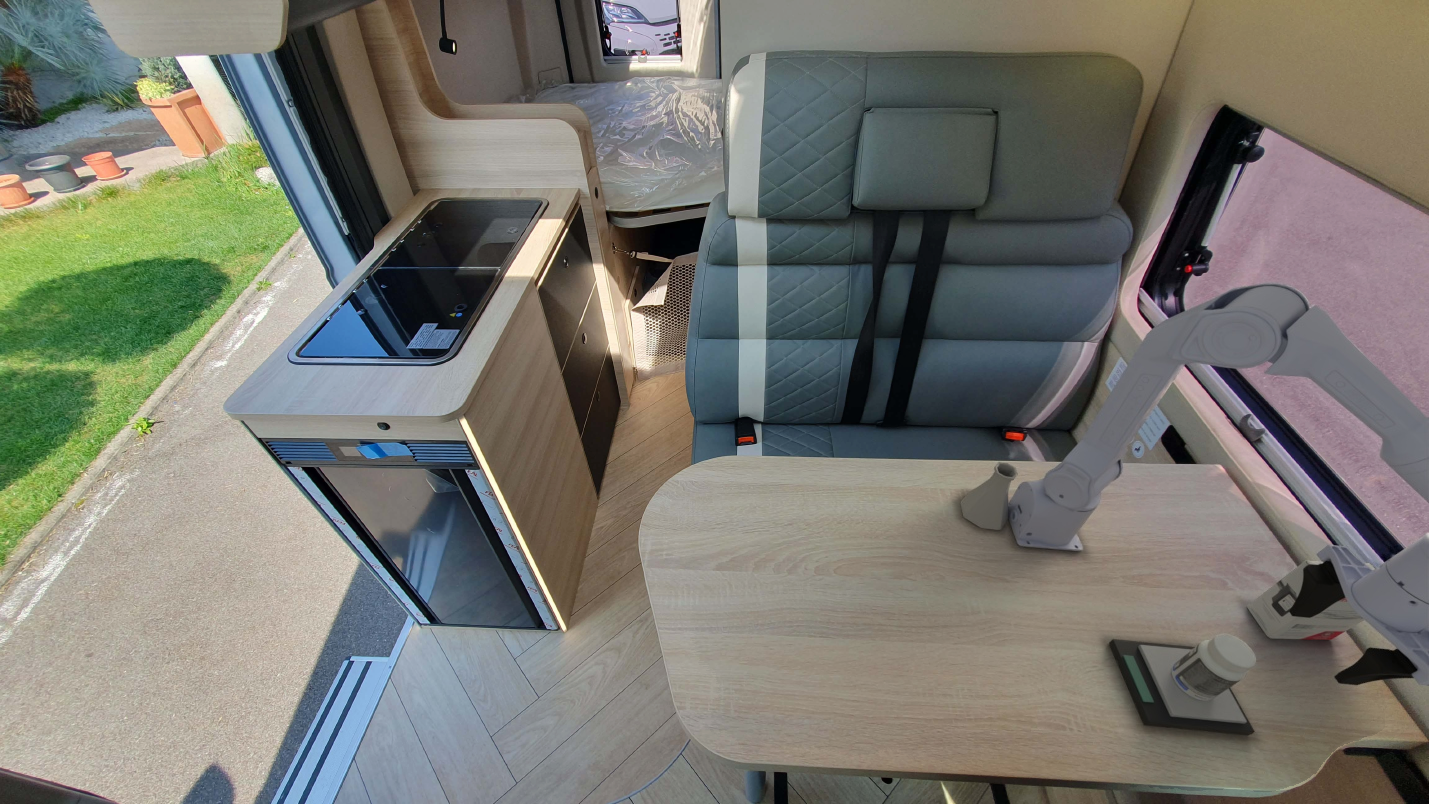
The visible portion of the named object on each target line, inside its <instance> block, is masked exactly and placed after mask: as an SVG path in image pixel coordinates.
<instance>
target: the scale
mask: <svg viewBox="0 0 1429 804" xmlns="http://www.w3.org/2000/svg"><path fill="white" fill-rule="evenodd" d="M1108 644H1109V647H1110V649H1111V652H1112V654H1113V656H1114V659H1115V661H1116V663H1117V665H1118V669H1119V671H1120V673H1121V675H1122V677H1123V679H1124V682H1125V685H1126V687H1127V689H1128V691H1129V694H1130V696H1131V698H1132V701H1133V703H1134V705H1135V708H1136V710H1137V712H1138V714H1139V717H1140V719H1141V721H1142V724H1143V726H1148V727H1149V726H1150V727H1161V728H1162V727H1163V728H1171V729H1181V730H1190V731H1201V732H1212V733H1221V734H1231V735H1241V736H1251V735H1252V734H1254V733H1256V731H1255V730H1254V727H1253V726H1252V724H1251V722H1250V720H1249V718H1248V717H1247V715H1246V714H1245V713H1246V712H1245V711H1244V710H1243V708H1242V706H1241V704H1240V703H1239V701H1238V699H1237V697H1236V695H1235V694H1234V692H1233V690H1232V687H1230V688H1229V689H1227V690H1225V691H1224V692H1222V693H1221V694H1219V695H1218V696H1216V697H1215V698H1213V699H1211V700H1208V701H1204V700H1198V699H1195V698H1193V697H1191V696H1189V695H1188V694H1186V693H1185V692H1184V691H1183V690H1181V689H1180V688H1179V686H1178V685H1177V684H1176V682H1175V680H1174V679H1173V676H1172V666H1173V665H1174V664H1175V663H1176V662H1177V661H1178V660H1179V659H1181V658H1182V657H1183V656H1185V655H1186V654H1187V653H1188V652H1190V651H1191V650H1192V649H1193V648H1195V647H1196V646H1194V645H1193V646H1192V645H1183V644H1172V643H1160V642H1150V641H1149V642H1148V641H1139V640H1129V639H1117V638H1112V639H1111V640H1110V641H1109V642H1108Z"/></svg>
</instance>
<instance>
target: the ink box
mask: <svg viewBox="0 0 1429 804" xmlns="http://www.w3.org/2000/svg"><path fill="white" fill-rule="evenodd" d="M1320 563H1324V562H1322V561H1321V560H1304V561H1303V562H1302V563H1300V564H1299V565H1297V567H1295V568H1294V569H1293V570H1291V571H1290V572H1289V573H1287V574H1286V575H1285V576H1284V577H1282V578H1281V579H1280V580H1278V581H1277V582H1276V583H1274V584H1273V585H1272V586H1270V587H1269V588H1268V589H1266V591H1264V592H1263V593H1262V594H1261V595H1259V596H1257V598H1255V599H1254V600H1253V601H1251V602H1250V603H1249V604H1247V606H1246V607H1247V609H1248V611H1249V613H1250V614H1251V616H1252V617H1253V618H1254V620H1255V621H1256V623H1257V624H1258V626H1259V627H1260V628H1261V629H1262V632H1264V634H1265V635H1266V637H1267V638H1269V639H1274V640H1275V639H1276V640H1313V641H1314V640H1317V641H1320V640H1323V641H1328V640H1329V641H1332V640H1334V639H1335V638H1337V637H1338V636H1340V635H1342V634H1343V633H1346V632H1347V631H1350V630H1351V629H1352V628H1354V627H1355V626H1357V625H1359V624H1360V623H1362V622H1364V621H1365V620H1364V619H1363V618H1362V617H1361V616H1360V615H1359V614H1357V613H1356V612H1355V610H1354V609H1353V608H1352V607H1351V606H1350V605H1349V603H1348V601H1347V599H1346V598H1344V599H1342V600H1340V601H1338V602H1336V603H1334V604H1333V605H1331V606H1330V607H1328V608H1327V609H1325V610H1324V611H1322V612H1321V613H1319V614H1318V615H1316V616H1313V617H1311V618H1305V617H1295V616H1292V615H1291V614H1290V612H1289V611H1290V609H1291V607H1292V606H1293V604H1294V603H1295V601H1296V599H1297V597H1298V595H1299V593H1300V590H1301V587H1302V583H1303V569H1304V568H1305V567H1306V566H1307V565H1309V564H1316V565H1319V564H1320ZM1363 563H1364V564H1366V565H1367V566H1368V567H1369V568H1371V569H1372V570H1374V569H1376V568H1377V567H1375V566H1374V565H1373V563H1368V562H1363Z"/></svg>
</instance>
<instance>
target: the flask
mask: <svg viewBox="0 0 1429 804" xmlns="http://www.w3.org/2000/svg"><path fill="white" fill-rule="evenodd" d="M993 470H994V472H993V474H992V475H991V476H990V477H989V478H988V479H987V480H985V481H984V482H982V483H981V484H980V485H978V486H976V487H975V488H973V489H971V490H969V492H967V493H966V495H965V496H964V498H962V500H961V501H960V508H961V512H962V517H963V518H964V519H966V520H968V521H969V522H971V523H973V524H974V525H976V526H977V527H979V528H980V529H986V530H995V531H1001V530H1002V528H1004V527H1005V525H1006V523H1007V521H1009V518H1008V503H1009V491H1010V487H1011V483H1012V482H1013V481H1014V480H1015V479H1016V477H1017V476H1018V474H1019V473H1018V470H1017V468H1016V466H1014V465H1012V464H1011V463H1008V462H1002V461H998V462H997V463H996V464H995V465H994V467H993Z"/></svg>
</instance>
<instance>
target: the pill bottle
mask: <svg viewBox="0 0 1429 804" xmlns="http://www.w3.org/2000/svg"><path fill="white" fill-rule="evenodd" d="M1194 647H1195V648H1193V649H1192V650H1191V651H1190V652H1188V653H1187V654H1186V655H1185V656H1183V657H1182V658H1181V659H1179V660H1178V661H1177V662H1176V663H1175V664H1174V665H1173V666H1172V676H1173V679H1174V680H1175V682H1176V684H1177V685H1178V686H1179V688H1180V689H1181V690H1183V691H1184V692H1185V693H1186V694H1188V695H1189V696H1191V697H1193V698H1195V699H1198V700H1204V701H1208V700H1211V699H1213V698H1215V697H1216V696H1218V695H1219V694H1221V693H1222V692H1224V691H1225V690H1227V689H1229V688H1232V687H1233V686H1234V685H1236V684H1238V683H1239V682H1241V681H1243V679H1244V678H1245V677H1246V676H1247V673H1248V671H1249V670H1251V669H1252V668H1253V667H1255V665H1256V663H1257V657H1256V654H1255V652H1254V651H1253V650H1252V648H1251V647H1250V646H1249V645H1248V644H1247V643H1246V642H1245V641H1244V640H1242V639H1240V638H1239V637H1237V636H1235V635H1232V634H1229V633H1218V634H1217V635H1215V636H1213V637H1212V638H1211V639H1205V640H1202V641H1200V642H1199V643H1198V644H1197V645H1196V646H1194Z"/></svg>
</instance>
